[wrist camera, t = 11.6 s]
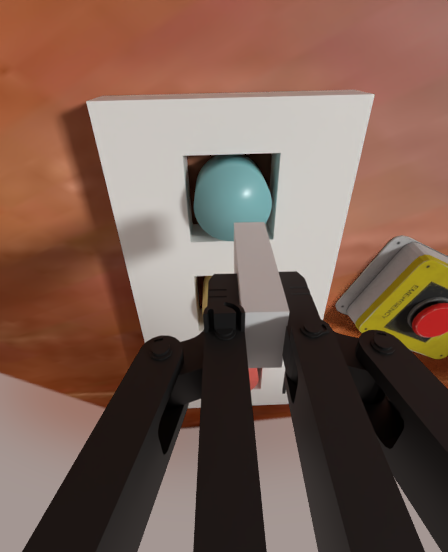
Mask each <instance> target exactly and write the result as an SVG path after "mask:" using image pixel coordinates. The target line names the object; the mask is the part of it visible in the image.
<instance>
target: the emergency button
mask: <svg viewBox="0 0 448 552" xmlns="http://www.w3.org/2000/svg"><path fill="white" fill-rule="evenodd" d="M335 306H336V309H337V310H338V311H339V312H340V313H343V314H346V315H348V316H349V317H350V318H351V320H352V321H353V322H354V324H355V326H356V327H357V329H358V330H359V331H360V332H361V333H363V332H365V331H368V330H380V331H385V332H387V333H389V334H392V335H394V336H395V337H396V338H398V339H399V340H400V341H401V342H402V343H403V344H404V345H405V346H406V347H407V348H408V349H409V350H411V351H414V352H417V353H419V354H422V355H425V356H428V357H431V358H433V359H442V358H444V357H446V356H448V256H446V255H444V254H442V253H440V252H438V251H436V250H434V249H432V248H430V247H428V246H426V245H424V244H422V243H420V242H418V241H416V240H414V239H412V238H410V237H408V236H403V235H401V236H397V237H394V238H393V239H392V240H390V241H389V242H388V243H387V245H386V246H385V247H384V248H383V249H382V250H381V252H380V253H379V254H378V255H377V256H376V257H375V258H374V260H373V261H372V262H371V263H370V264H369V265H368V266H367V268H366V269H365V270H364V271H363V272H362V273H361V275H360V276H359V277H358V278H357V279H356V280H355V281H354V283H353V284H352V285H351V286H350V287H349V288H348V289H347V291H346V292H345V293H344V294H343V295H342V296H341V298H340V299H339V300H338V301H337V303H336V305H335Z"/></svg>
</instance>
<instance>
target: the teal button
mask: <svg viewBox="0 0 448 552" xmlns="http://www.w3.org/2000/svg"><path fill="white" fill-rule="evenodd" d="M271 207H272V200H271V194H270V191H269V189H268V186H267V184H266V182H265V180H264V177H263V175H262V173H261V171H260V169H259V167H258V166H257V165H256V163H255V162H254V161H252V160H251V159H250V158H248V157H246V156H244V155H242V154H225V155H217V156H215V157H213V158H211V159H210V160H209V161H207V162H206V163H205V164H204V166H203V167H202V168H201V170H200V172H199V174H198V177H197V181H196V189H195V197H194V213H195V216H196V219H197V221H198V223H199V225H200V226H201V227H202V229H203V230H204V231H205V232H206V233H208V234H209V235H211V236H212V237H214V238H217V239H219V240H223V241H234V223H242V222H265V223H266V222H267V220H268V218H269V216H270V212H271Z"/></svg>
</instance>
